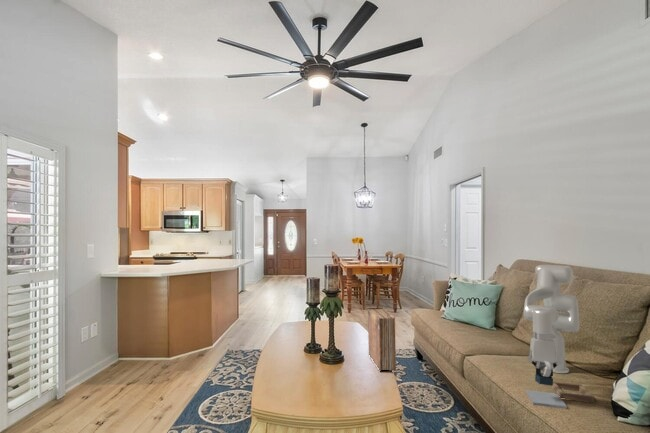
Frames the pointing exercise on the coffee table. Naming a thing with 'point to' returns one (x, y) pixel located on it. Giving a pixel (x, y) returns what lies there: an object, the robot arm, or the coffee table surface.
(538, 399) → the pad
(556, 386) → the pocket frame
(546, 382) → the watch
